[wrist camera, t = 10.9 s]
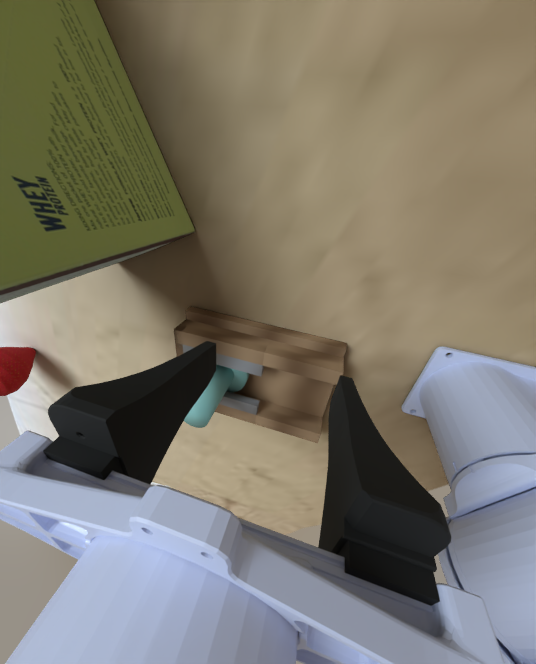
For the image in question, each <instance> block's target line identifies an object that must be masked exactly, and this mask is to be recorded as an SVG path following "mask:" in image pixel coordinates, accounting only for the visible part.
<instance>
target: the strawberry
mask: <svg viewBox="0 0 536 664" xmlns="http://www.w3.org/2000/svg"><path fill="white" fill-rule="evenodd" d="M35 355H36V351H35V350H34V349H32V348H29V347H0V396H6V395H8V394H10V393H13V392H15V391H17V390H18V389H19V388H20V387H21V386H22V385H23V384H24V383H25V382H26V381H27V379H28V377H29V374H30V372H31V369H32V367H33V361H34V358H35Z"/></svg>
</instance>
